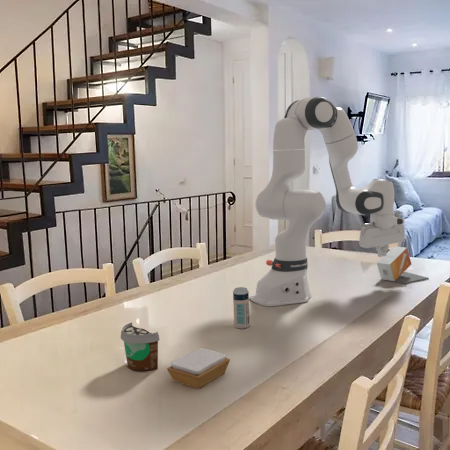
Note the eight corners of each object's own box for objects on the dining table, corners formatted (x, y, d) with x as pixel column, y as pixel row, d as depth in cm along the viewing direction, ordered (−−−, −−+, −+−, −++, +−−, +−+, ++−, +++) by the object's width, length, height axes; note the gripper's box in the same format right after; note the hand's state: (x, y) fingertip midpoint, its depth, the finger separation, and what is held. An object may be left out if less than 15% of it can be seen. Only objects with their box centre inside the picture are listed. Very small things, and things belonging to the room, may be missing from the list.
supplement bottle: (246, 323, 161) (244, 286, 160) (252, 328, 157) (251, 289, 155) (231, 325, 160) (230, 288, 158) (237, 330, 155) (236, 291, 154)
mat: (404, 284, 199) (404, 282, 199) (381, 277, 209) (381, 276, 209) (428, 279, 204) (428, 277, 204) (405, 273, 215) (405, 271, 215)
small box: (390, 264, 199) (407, 247, 206) (376, 262, 204) (393, 245, 211) (395, 282, 202) (412, 264, 209) (381, 279, 207) (398, 262, 214)
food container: (113, 365, 134) (110, 328, 132) (133, 357, 138) (130, 321, 136) (141, 378, 125) (138, 339, 123) (161, 370, 129) (159, 332, 128)
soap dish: (198, 393, 117) (197, 372, 116) (166, 382, 123) (165, 362, 122) (231, 373, 127) (230, 353, 126) (200, 364, 133) (199, 345, 132)
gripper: (367, 225, 191) (367, 261, 193) (407, 219, 200) (407, 254, 202) (355, 223, 196) (355, 258, 198) (395, 217, 205) (395, 251, 207)
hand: (382, 256), depth 200 cm, fingers closed
